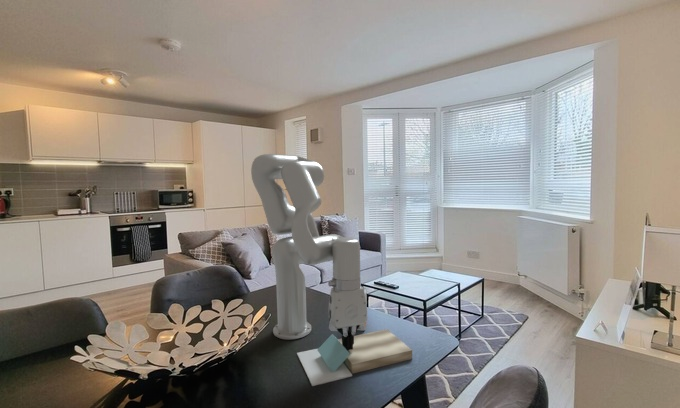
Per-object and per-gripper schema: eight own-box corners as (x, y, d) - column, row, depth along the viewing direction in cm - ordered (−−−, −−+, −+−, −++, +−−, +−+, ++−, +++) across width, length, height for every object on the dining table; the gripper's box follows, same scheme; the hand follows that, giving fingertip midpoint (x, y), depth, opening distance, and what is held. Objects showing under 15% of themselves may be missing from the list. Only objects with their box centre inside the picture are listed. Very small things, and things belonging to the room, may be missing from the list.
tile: (322, 355, 92) (317, 349, 91) (337, 339, 94) (332, 333, 93) (333, 372, 84) (328, 366, 83) (350, 354, 85) (344, 348, 85)
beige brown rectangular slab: (334, 348, 97) (333, 340, 97) (387, 336, 103) (387, 329, 103) (352, 373, 84) (352, 364, 83) (412, 358, 90) (412, 350, 90)
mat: (297, 354, 94) (296, 352, 94) (331, 346, 97) (331, 345, 97) (312, 386, 79) (312, 384, 79) (352, 376, 83) (352, 374, 83)
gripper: (325, 291, 83) (327, 360, 84) (377, 283, 89) (378, 348, 90) (316, 282, 90) (318, 347, 91) (365, 276, 96) (366, 336, 97)
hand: (348, 347), depth 91 cm, fingers closed
